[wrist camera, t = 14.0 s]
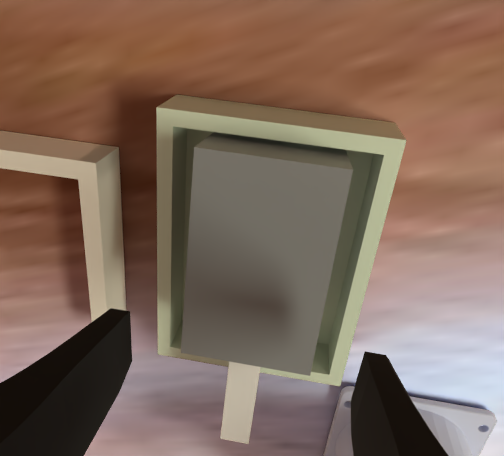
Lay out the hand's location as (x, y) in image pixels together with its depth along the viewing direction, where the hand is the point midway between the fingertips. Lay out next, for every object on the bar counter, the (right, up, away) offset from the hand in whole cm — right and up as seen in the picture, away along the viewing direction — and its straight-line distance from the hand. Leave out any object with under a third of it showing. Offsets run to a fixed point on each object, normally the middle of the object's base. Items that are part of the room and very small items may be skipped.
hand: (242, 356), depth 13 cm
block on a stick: (+1, +2, +6) cm, 7 cm away
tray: (+1, +3, +7) cm, 8 cm away
